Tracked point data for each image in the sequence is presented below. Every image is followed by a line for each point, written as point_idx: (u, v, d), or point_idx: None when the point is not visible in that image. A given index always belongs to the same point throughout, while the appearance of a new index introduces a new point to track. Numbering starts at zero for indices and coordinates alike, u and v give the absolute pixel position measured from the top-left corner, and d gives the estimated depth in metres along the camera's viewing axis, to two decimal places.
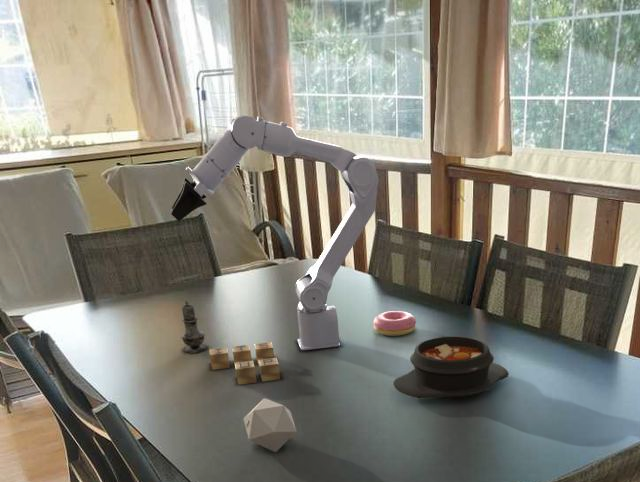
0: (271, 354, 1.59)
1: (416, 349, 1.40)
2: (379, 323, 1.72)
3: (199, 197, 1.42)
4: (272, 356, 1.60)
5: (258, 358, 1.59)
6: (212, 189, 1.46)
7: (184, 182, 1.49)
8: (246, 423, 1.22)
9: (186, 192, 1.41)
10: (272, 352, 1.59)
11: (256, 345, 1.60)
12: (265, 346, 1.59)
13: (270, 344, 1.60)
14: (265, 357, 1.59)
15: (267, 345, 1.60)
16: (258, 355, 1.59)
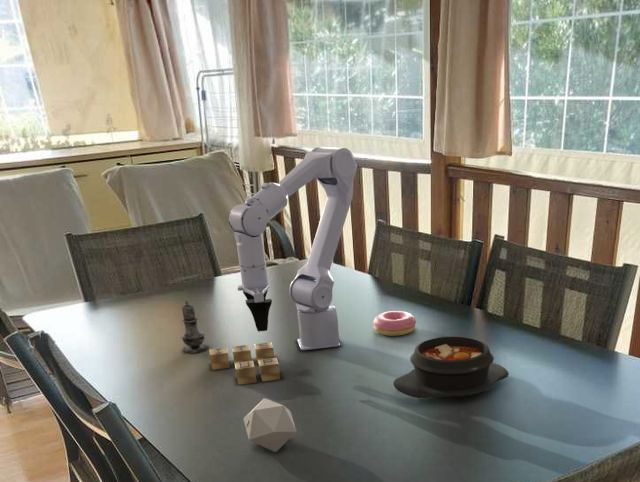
0: (271, 354, 1.59)
1: (416, 349, 1.40)
2: (379, 323, 1.72)
3: (263, 302, 1.49)
4: (272, 356, 1.60)
5: (258, 358, 1.59)
6: (266, 284, 1.51)
7: None
8: (246, 423, 1.22)
9: (252, 308, 1.49)
10: (272, 352, 1.59)
11: (256, 345, 1.60)
12: (265, 346, 1.59)
13: (270, 344, 1.60)
14: (265, 357, 1.59)
15: (267, 345, 1.60)
16: (258, 355, 1.59)
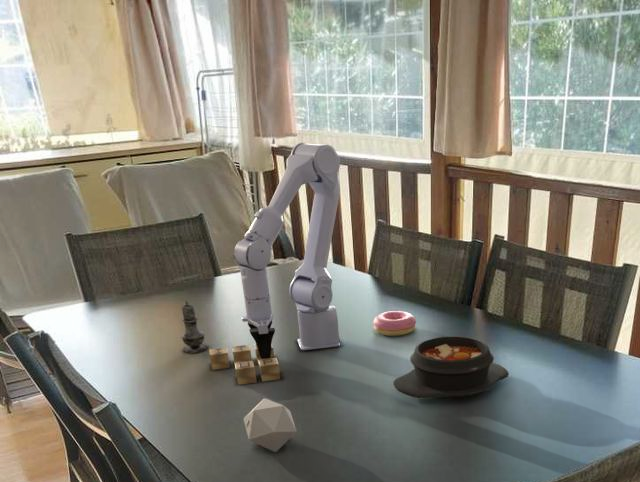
0: (271, 354, 1.59)
1: (416, 349, 1.40)
2: (379, 323, 1.72)
3: None
4: (272, 356, 1.60)
5: (258, 358, 1.59)
6: (270, 315, 1.55)
7: (250, 327, 1.59)
8: (246, 423, 1.22)
9: (256, 337, 1.54)
10: (272, 352, 1.59)
11: (256, 345, 1.60)
12: None
13: None
14: None
15: None
16: (258, 355, 1.59)
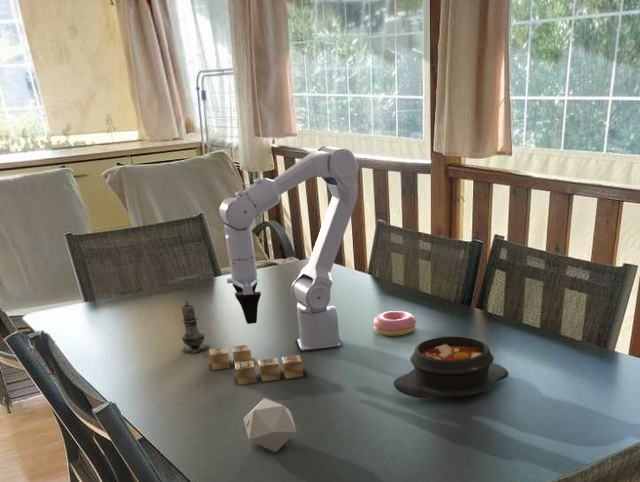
0: (299, 368, 1.51)
1: (416, 349, 1.40)
2: (379, 323, 1.72)
3: (252, 295, 1.50)
4: (301, 370, 1.51)
5: (286, 372, 1.51)
6: (255, 277, 1.53)
7: (235, 288, 1.58)
8: (246, 423, 1.22)
9: (242, 301, 1.51)
10: (301, 366, 1.51)
11: (284, 358, 1.52)
12: (293, 360, 1.51)
13: (298, 357, 1.52)
14: (293, 371, 1.51)
15: (295, 358, 1.52)
16: (286, 369, 1.50)
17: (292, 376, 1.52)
